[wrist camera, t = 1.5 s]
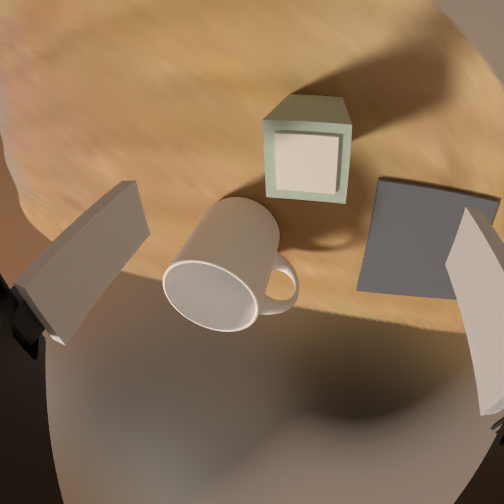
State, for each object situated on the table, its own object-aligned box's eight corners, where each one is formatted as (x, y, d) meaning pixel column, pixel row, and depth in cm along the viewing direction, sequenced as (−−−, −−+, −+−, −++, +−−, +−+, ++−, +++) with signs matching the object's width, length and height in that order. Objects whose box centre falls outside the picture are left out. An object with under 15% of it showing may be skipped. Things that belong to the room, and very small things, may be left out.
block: (289, 94, 22) (261, 121, 14) (342, 97, 21) (352, 126, 12) (290, 142, 25) (265, 199, 16) (340, 145, 24) (345, 206, 15)
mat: (378, 178, 25) (378, 180, 24) (496, 199, 21) (499, 202, 21) (356, 287, 33) (356, 290, 33) (456, 296, 30) (457, 299, 30)
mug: (286, 282, 36) (267, 357, 27) (197, 237, 35) (155, 303, 26) (323, 234, 30) (315, 313, 22) (220, 180, 29) (172, 241, 21)
